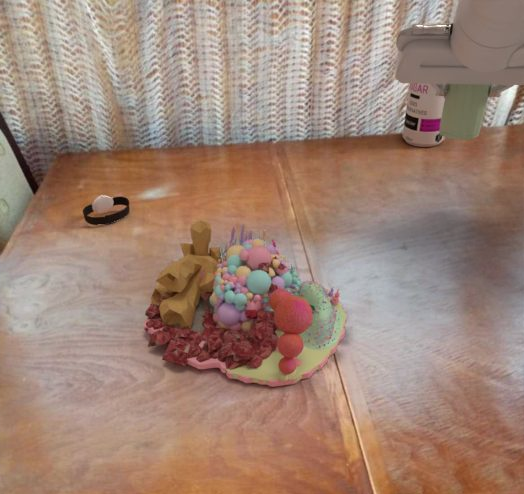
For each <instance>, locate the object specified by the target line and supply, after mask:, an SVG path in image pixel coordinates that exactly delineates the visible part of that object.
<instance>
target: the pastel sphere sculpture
mask: <svg viewBox="0 0 524 494" xmlns="http://www.w3.org/2000/svg"><path fill="white" fill-rule="evenodd" d="M189 230H190V239H191V241H192V242H191V243H189V242H181V243H179V246H180V249H181V251H182V255H183V256H182V257H181V258H179V259H178V260H175V261H172V262H171V263H170V264H168V265H167V266H166V267H165V268H164V269H163V270H162V271H161V272H160V273H159V275H158V276H157V278H156V280H155V281H156V282H157V283H158V285H157V286H156V287H155V288H154V290H153V292H152V294H151V300H150V304H149V307H148V308H147V309H146V310H145V314H144V316H146V317H147V319H146V320H144V321H143V322H142V325H143V330H144V331H145V332H147V333H148V334H151V335H150V338H149V341H148V344H147V348H150V347H157V346H162V345H163V346H164V345H166V344H167V343H168V345H167V346H166V349H165V351H164V354H163V355H162V358H161V360H162V361H165V362H168V363H173V364H175V365H178V366H183V367H186V366H187V365H189V366H191V367H193V368H196V369H198V370H206V369H213V368H217V369H220V372H221V373H223V374H226V376H227V378H228V379H231V380H232V379H233V380H238V381H241V382H243V383H244V384H252V383H255V384H259V385H261V386H263V385H265V386H266V385H267V386H269V387H281V386H289V385H294V384H297V383H298V382H300V381H301V380H306V379H309V378H311V377H312V376H313V374H314V373H315V372H316V371H319V370H321V369H322V368H323V367H324V366H325V365H326V363H327V362H328V361H329V357H330V356H332V355H334V354H335V353H336V351H338V346H339V344H340V343H341V342H342V341H343V339H344V338H345V336H346V330H345V328H346V323H347V314H346V312H345V309H344V307H343V305H342V304H341V301H340V300H339V298H340V292H339V291H340V288H338V289H337V290H336V292H335V289H334V286H332V287H331V288H330V289H331V290H330V289H328V288H326V287H324V286H323V284H321V283H319V282H317V281H315V280H305V281H302V280H301V279H300V278H298V277H299V274H298V273H297V272H295V271H296V270H295V269H296V268H295V266H294V265H293V264H292V263H291V264H290V265H289V264H288V262H287V261H286V256H285V255H284V254H280V252H279V251H278V250H277V243H276V242H275V241H274V239H273V238H272V240H271V242H272V244H268V243H267V242H266V239H267V229H262V238H261V235H259V237H258V238H253V230H252V228H250V229H249V233H245V223H242V225H241V226H240V236H239V237H240V238H239V237H238V236H235V234H236V229H235V225H233V226H232V230H231V232H230V240H229V247H228V245H226V246H225V247H224V250H223V245H222V244H221V243H219V246H214V247H212V246H211V247H210V243H211V241H212V226H211V223H210V222H207V221H204V220H198V221H196V222H195V223H192V224H191V225H190V228H189ZM244 233H245V234H244ZM247 234H248V235H247ZM234 238H235V239H234ZM237 239H238V242H239V244H237ZM334 292H335V293H334Z"/></svg>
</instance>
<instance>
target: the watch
mask: <svg viewBox="0 0 524 494" xmlns="http://www.w3.org/2000/svg"><path fill="white" fill-rule="evenodd" d="M114 206H125V208H123V209H121V210H119V211H116V212H114V213H111V214H106V215H104V216H89V215H91V214H92V213H97V214H105V213H107V211H108V212H109V211H110V210H111V209H112V208H113V207H114ZM130 211H131V209H130V200H129V198H127V197H125V196H114V197H113V196H112V197H111V196H108V195H105V194H104V195H103V194H100V195H99V196H97V197H96V198H95V199H94V201H92V203H90V204H88V205H85V207H84V208H83V209H82V214H83V217H84V221H85V222H86V223H87V224H89V225H92V226H99V225H98V224H105V225H107V224H106V223H110V224H112V223H111V222H114V221H116V222H118V221H120V220H122V219H124V218H126V217H127V216H128V215H129V213H130ZM104 212H105V213H104ZM125 216H126V217H125ZM121 218H122V219H121ZM119 219H120V220H119ZM117 220H118V221H117ZM114 223H115V222H114Z"/></svg>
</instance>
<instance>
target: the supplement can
mask: <svg viewBox="0 0 524 494" xmlns="http://www.w3.org/2000/svg"><path fill="white" fill-rule="evenodd" d="M435 91H436V90H435V89H434V88H433V87H432V86H431V85H430V84H414V83H409V85H408V91H407V92H408V93H407V100H406V109H405V115H404V121H403V130H402V138H403V140H404V141H405V142H406V143H407V144H408V145H411V146H414V147H422V148H430V147H436V146H438V145H440V144H441V143H442V142H444V140H445V139H446V137H444V136H442V135H441V134H440V133H439V130H440V122H441V117H442V111H443V106H444V100H445V96H435Z"/></svg>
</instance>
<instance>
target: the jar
mask: <svg viewBox="0 0 524 494" xmlns="http://www.w3.org/2000/svg"><path fill="white" fill-rule="evenodd" d="M490 86H491V85H478V84H448V92H447V93H446V96H445V100H444V106H443V111H442V117H441V122H440V130H439V133H440V134H441V135H442V136H444V137H445V139H446V138H447V139H450V140H455V141H467V140H473V139H476V138H478V137H479V136H480V133H481V132H480V131H481V129H482V124H483V121H484V116H485V112H486V108H487V104H488V99H489V97H488V95H489V90H490Z"/></svg>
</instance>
